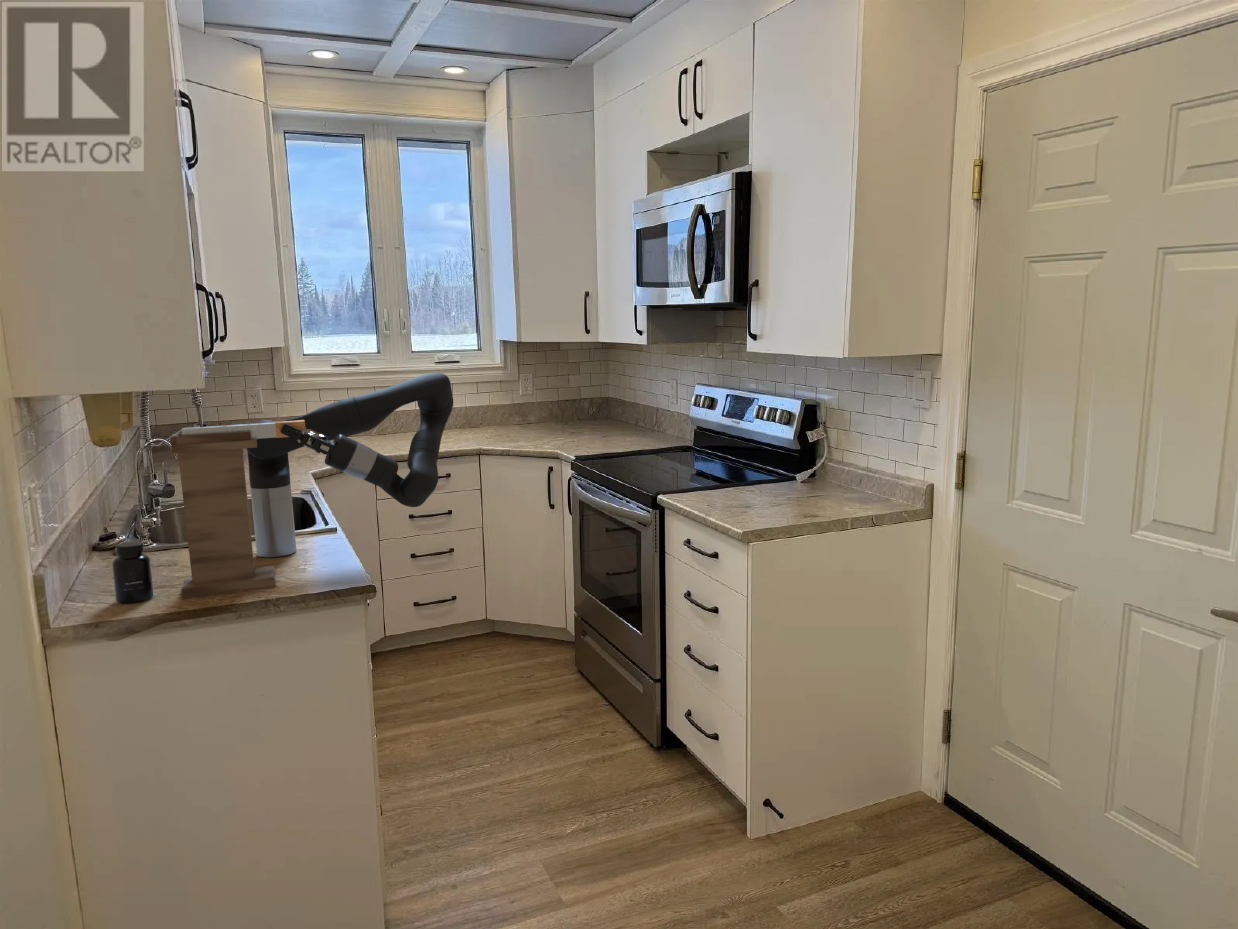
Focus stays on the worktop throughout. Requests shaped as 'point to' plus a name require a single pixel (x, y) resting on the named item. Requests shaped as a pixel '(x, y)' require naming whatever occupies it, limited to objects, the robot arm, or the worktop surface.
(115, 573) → the supplement bottle
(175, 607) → the worktop surface
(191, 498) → the post
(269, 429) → the grey and tan bar
